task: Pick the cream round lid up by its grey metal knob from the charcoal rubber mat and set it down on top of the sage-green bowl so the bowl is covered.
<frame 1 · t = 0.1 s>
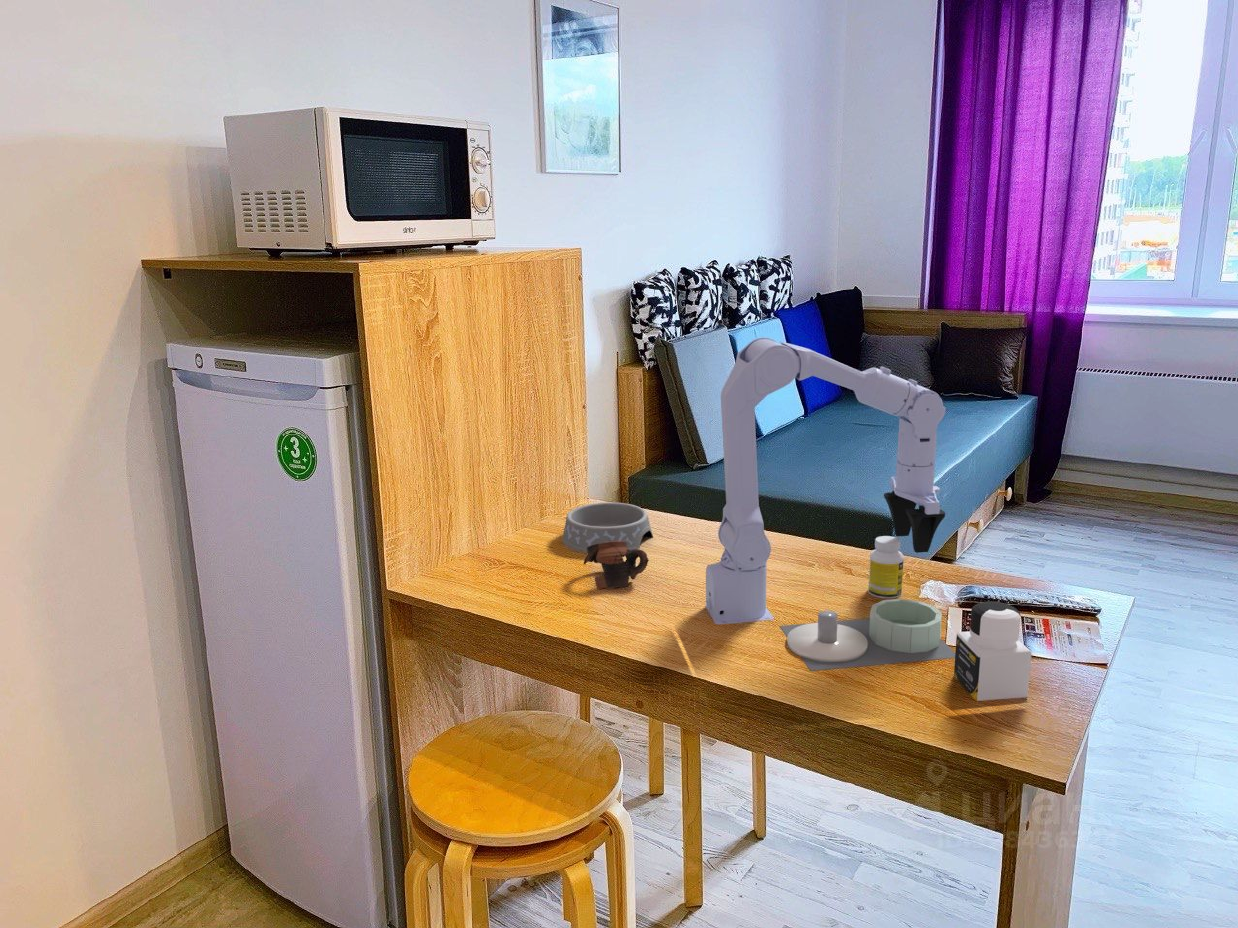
hand: (911, 543, 155), 10 cm above the table, tool pointing down, fingers open, 7 cm apart
pottery mug: (616, 581, 171), on the table
bowl: (904, 637, 144), resting on mat
lid: (827, 644, 142), point 1 cm above the table, touching mat
supplement bottle: (884, 596, 161), on the table
mat: (865, 644, 143), on the table
dog bowl: (607, 540, 192), on the table
medicine bottle: (989, 691, 129), on the table
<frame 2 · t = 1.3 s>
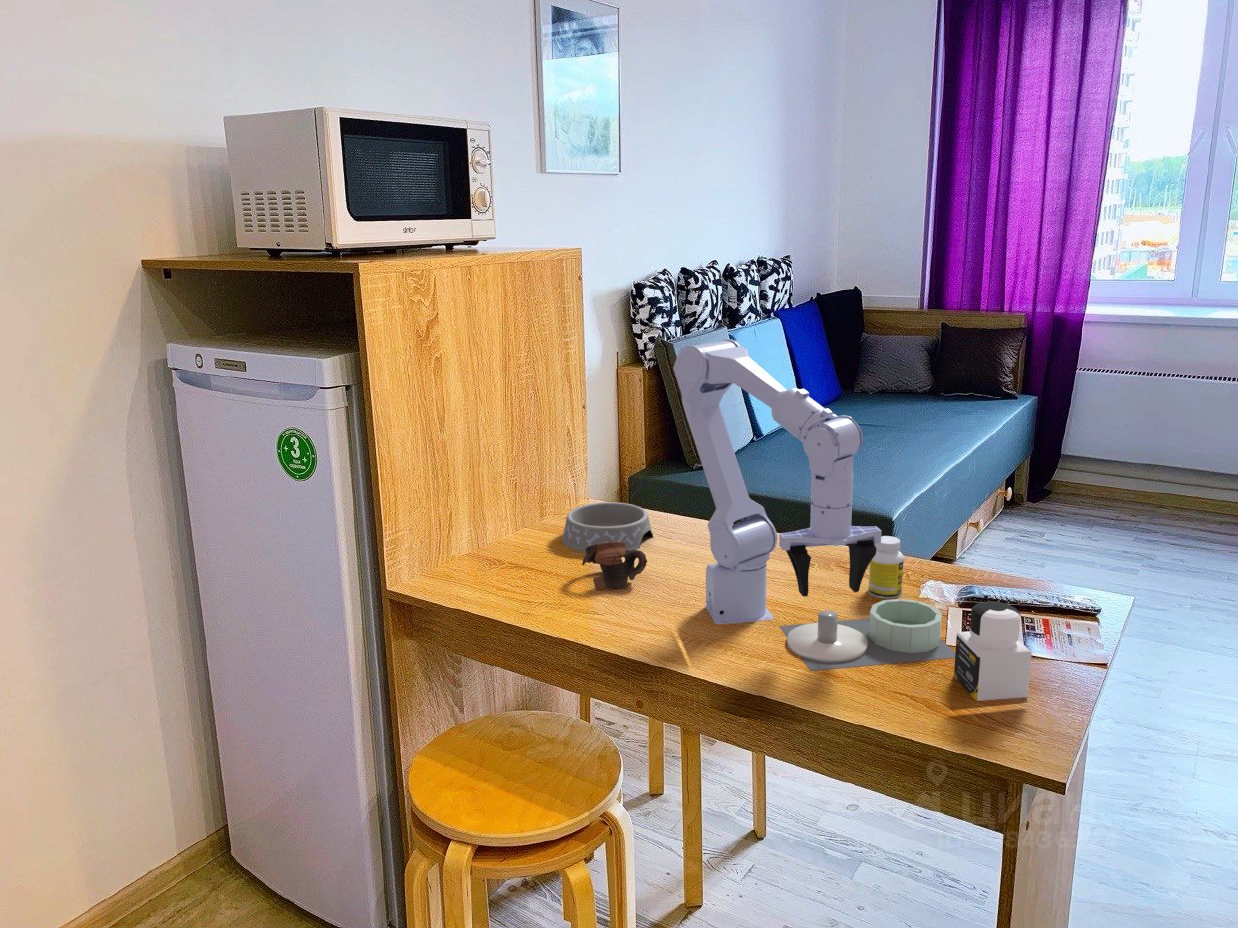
hand: (828, 591, 140), 9 cm above the table, tool pointing down, fingers open, 7 cm apart
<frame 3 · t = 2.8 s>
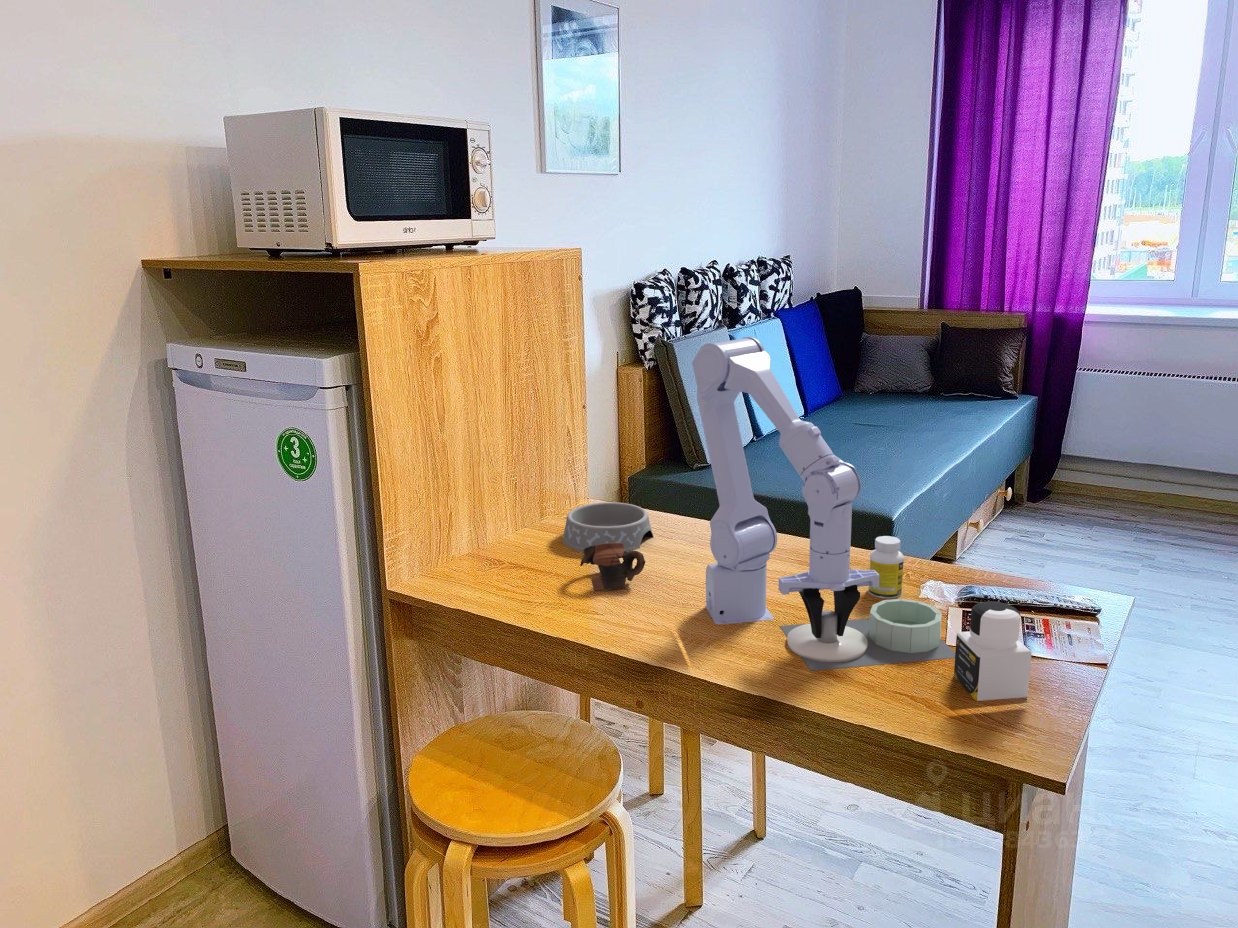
hand: (827, 634, 142), 2 cm above the table, tool pointing down, fingers closed on lid, 3 cm apart
lid: (827, 644, 142), point 1 cm above the table, touching gripper, mat
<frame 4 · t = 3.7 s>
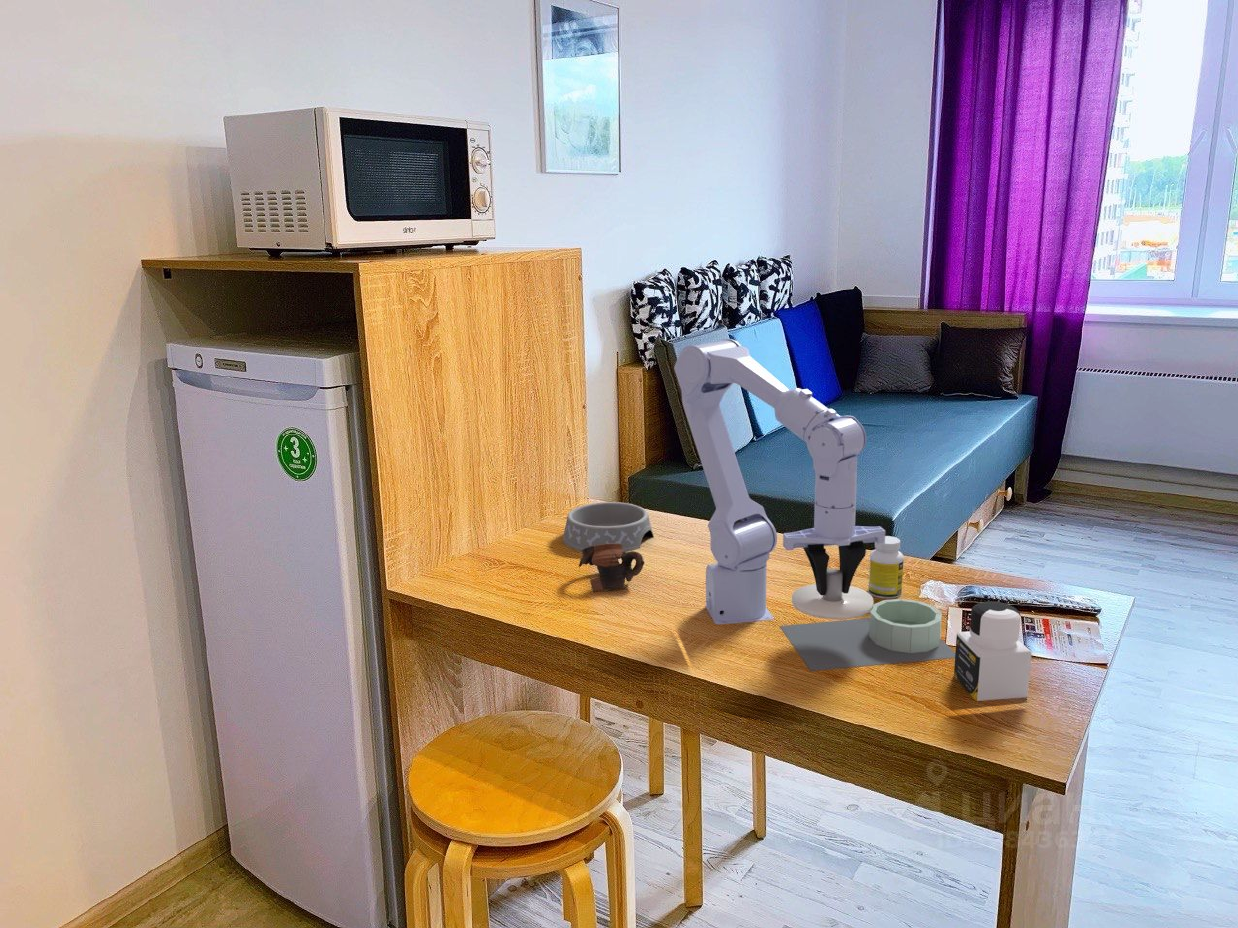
hand: (832, 591, 140), 9 cm above the table, tool pointing down, fingers closed on lid, 3 cm apart
lid: (832, 603, 140), point 7 cm above the table, touching gripper
when the fingers open (7 cm above the table, at t = 5.0 s): lid stays where it is, resting on bowl.
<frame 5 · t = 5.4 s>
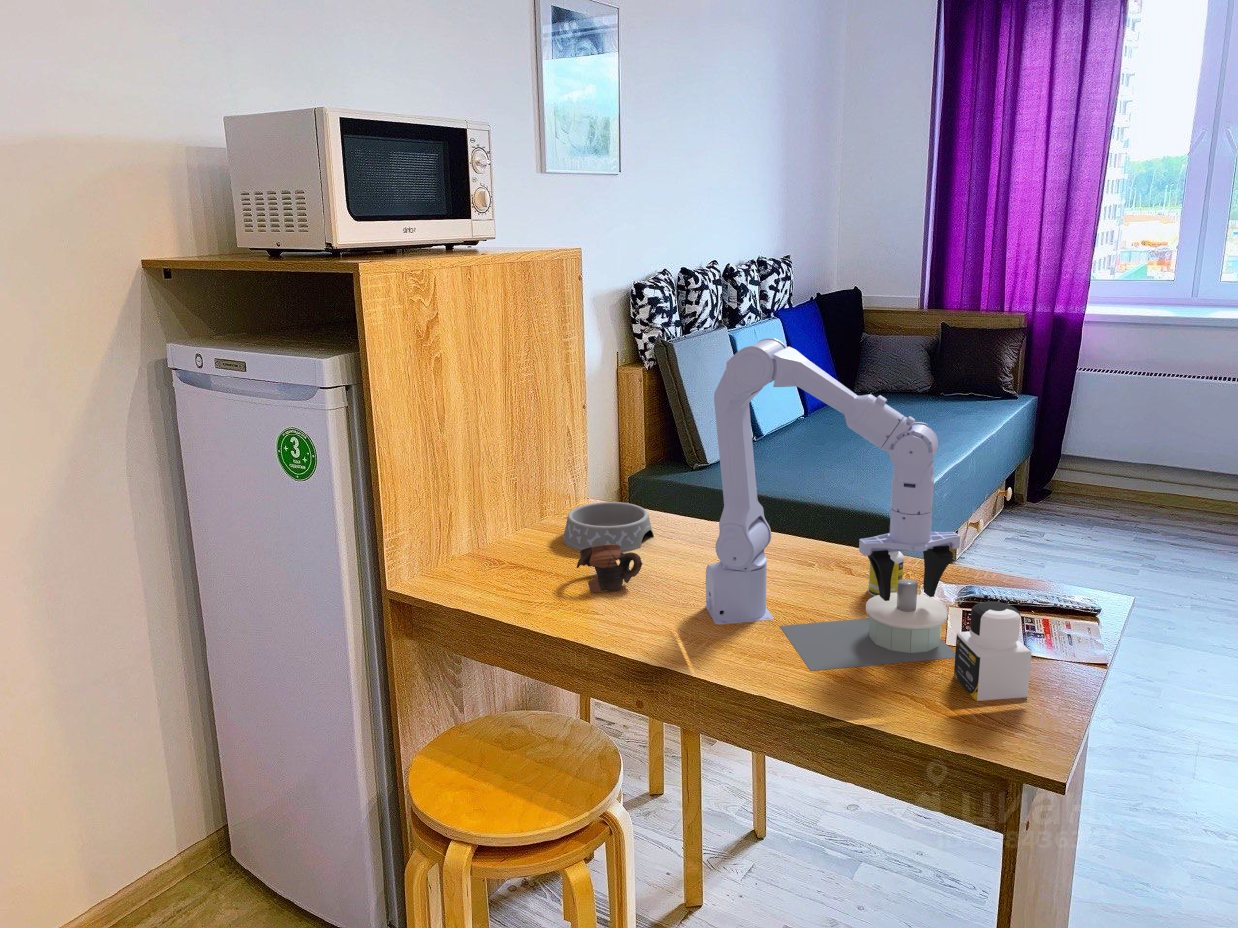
hand: (906, 596, 142), 7 cm above the table, tool pointing down, fingers open, 6 cm apart
lid: (906, 612, 142), point 5 cm above the table, touching bowl
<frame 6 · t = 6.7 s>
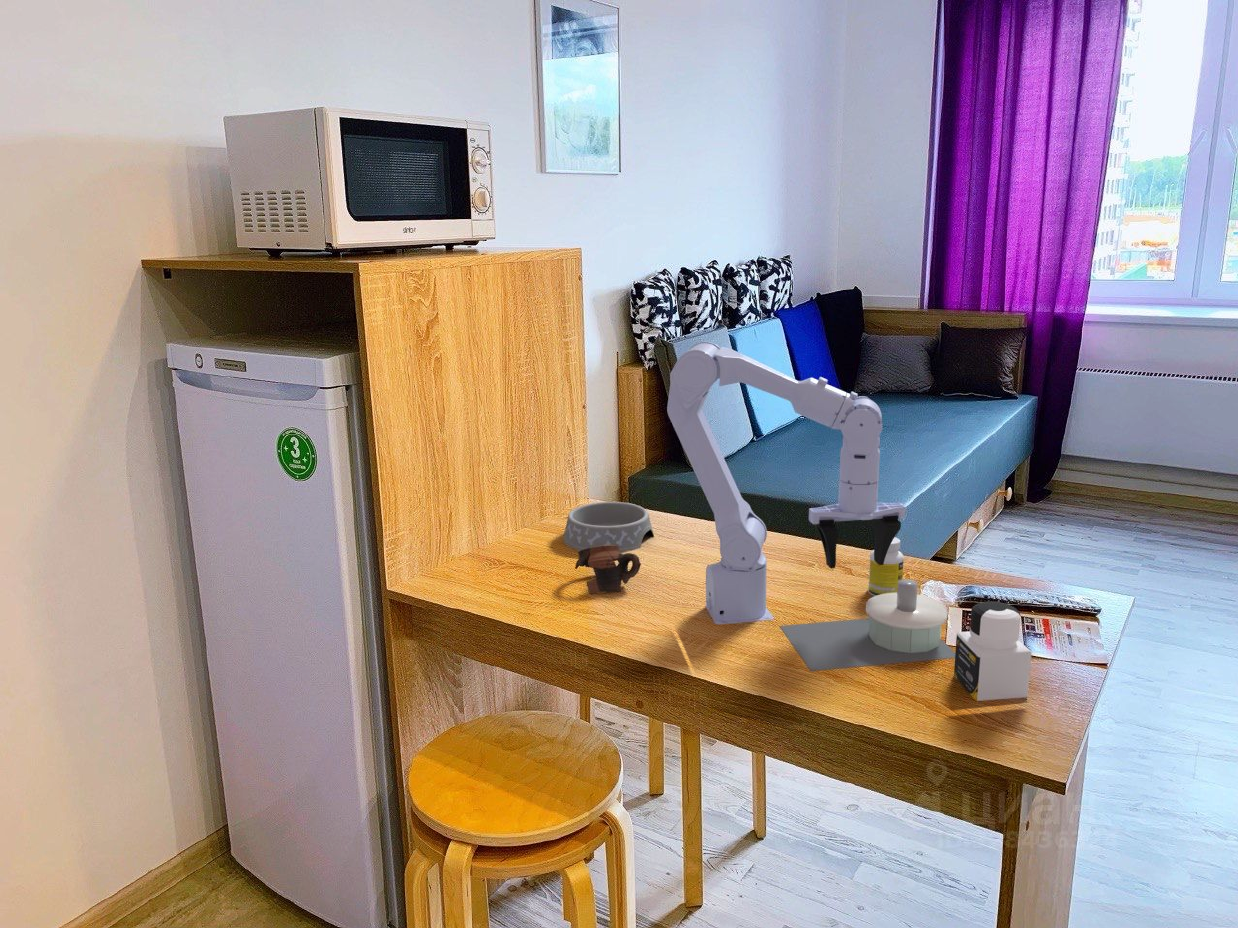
hand: (854, 564, 148), 10 cm above the table, tool pointing down, fingers open, 7 cm apart
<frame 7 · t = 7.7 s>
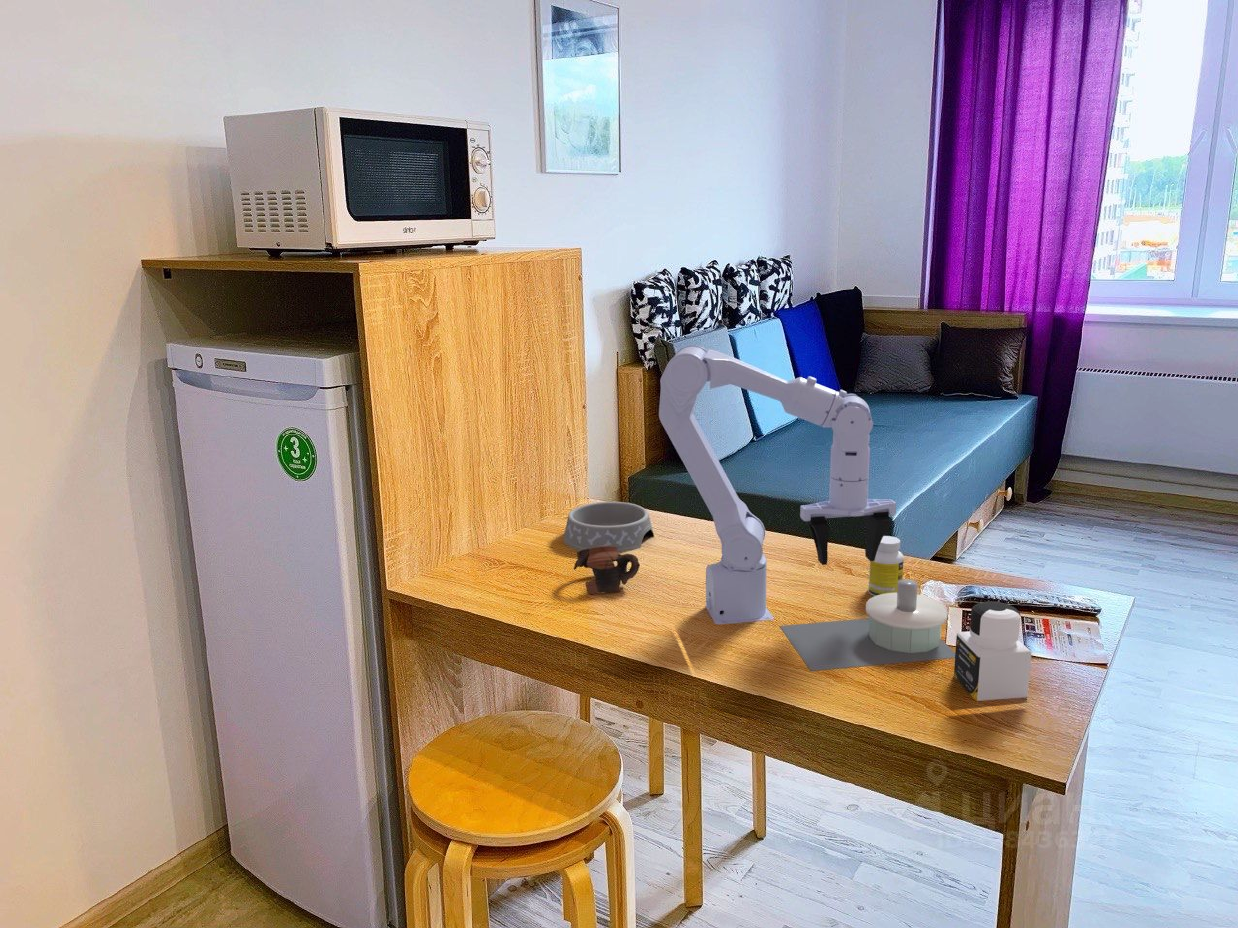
hand: (846, 560, 149), 10 cm above the table, tool pointing down, fingers open, 7 cm apart
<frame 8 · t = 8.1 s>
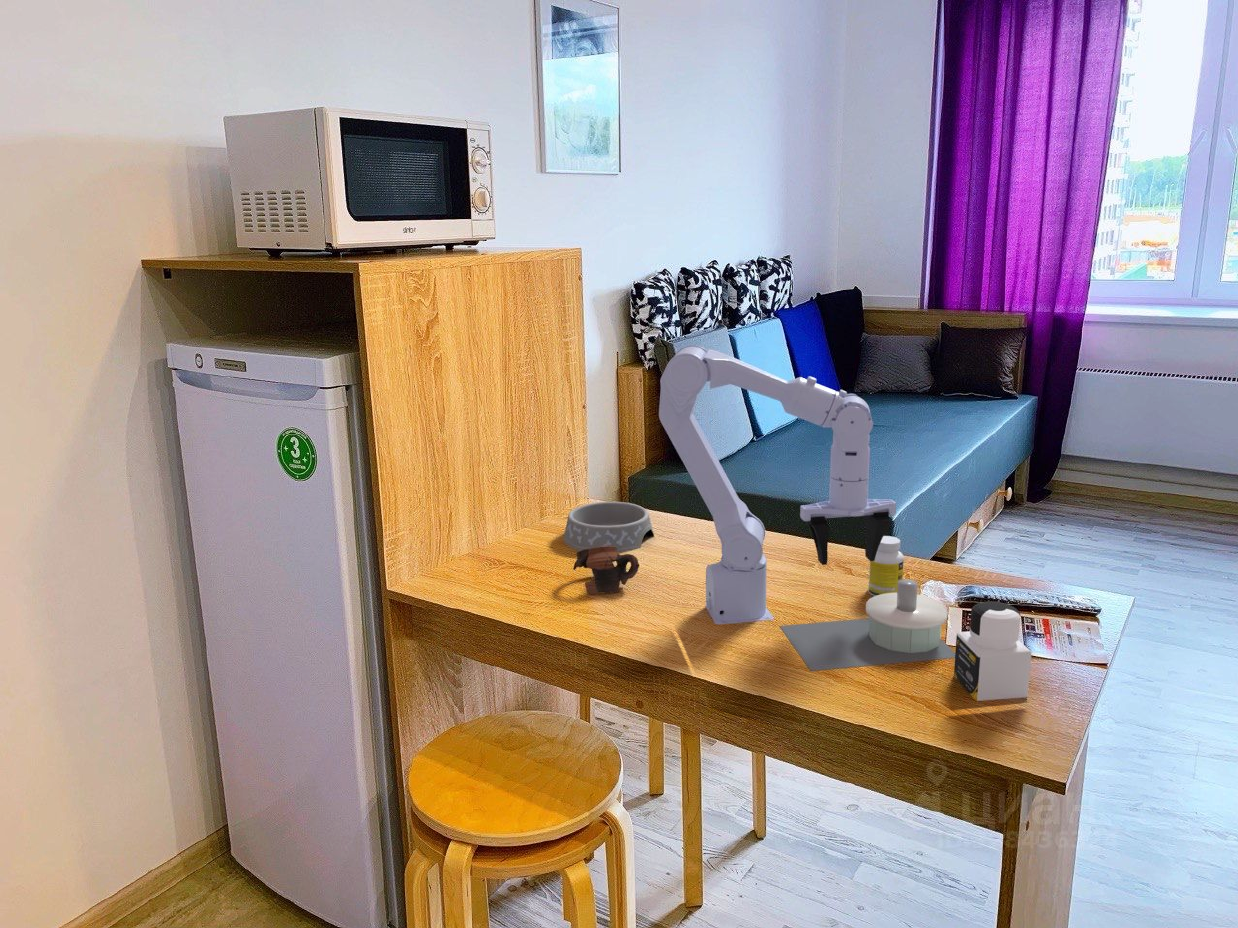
hand: (846, 560, 149), 10 cm above the table, tool pointing down, fingers open, 7 cm apart
at the end: lid 0.1 cm off-centre on the bowl, point 4.0 cm above the bowl's base; lid tilted 0°; the gripper is holding nothing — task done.
